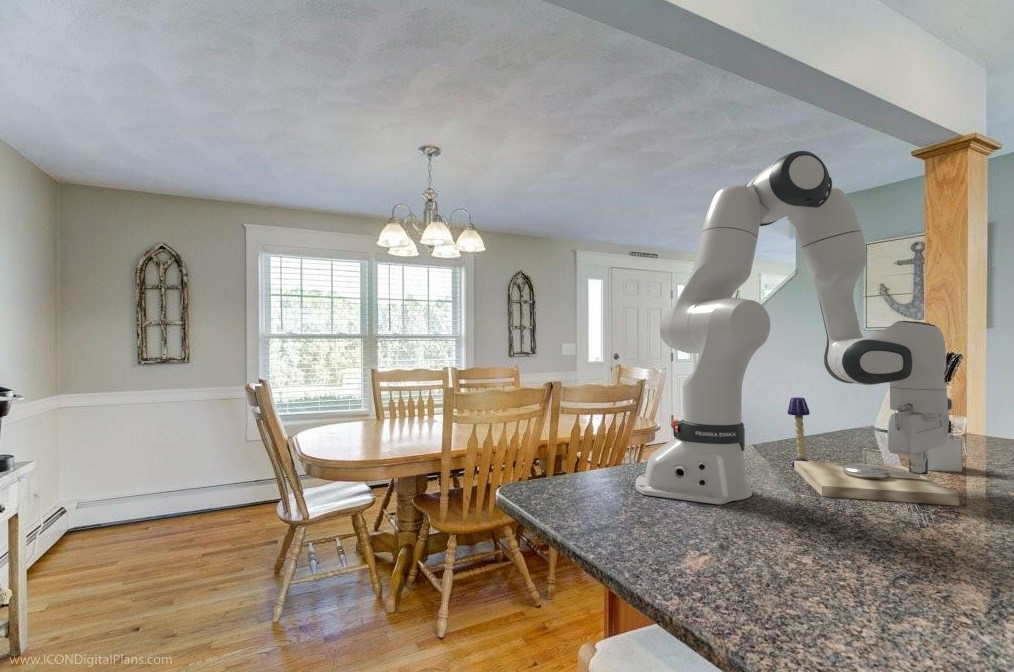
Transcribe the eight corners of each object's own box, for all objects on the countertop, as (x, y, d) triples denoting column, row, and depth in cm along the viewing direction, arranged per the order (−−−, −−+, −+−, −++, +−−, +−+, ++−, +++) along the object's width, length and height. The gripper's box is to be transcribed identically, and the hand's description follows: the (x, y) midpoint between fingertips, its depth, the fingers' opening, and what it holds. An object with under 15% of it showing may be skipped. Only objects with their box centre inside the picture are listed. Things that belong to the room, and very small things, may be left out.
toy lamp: (790, 468, 121) (788, 398, 121) (788, 463, 125) (786, 396, 125) (813, 469, 119) (811, 399, 119) (810, 465, 123) (808, 397, 123)
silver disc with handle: (847, 476, 104) (847, 451, 104) (839, 467, 111) (838, 444, 111) (935, 483, 98) (935, 457, 98) (920, 473, 105) (920, 449, 106)
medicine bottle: (963, 472, 115) (961, 419, 116) (927, 471, 117) (926, 419, 117) (943, 464, 122) (941, 415, 122) (909, 463, 124) (908, 414, 124)
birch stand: (822, 496, 99) (821, 485, 99) (794, 469, 120) (794, 460, 120) (959, 505, 92) (958, 494, 92) (904, 475, 113) (904, 466, 113)
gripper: (917, 408, 92) (917, 484, 92) (955, 400, 103) (956, 468, 103) (876, 404, 97) (877, 476, 97) (917, 397, 108) (918, 462, 108)
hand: (918, 472), depth 100 cm, fingers closed
